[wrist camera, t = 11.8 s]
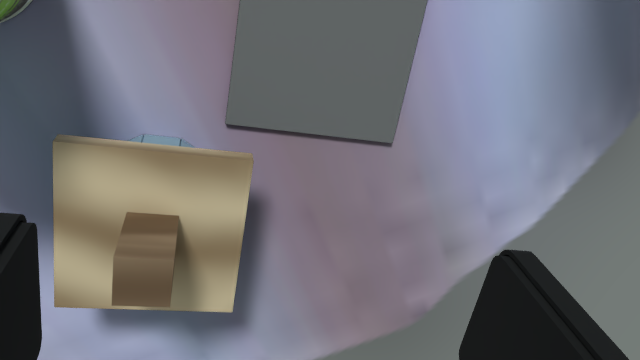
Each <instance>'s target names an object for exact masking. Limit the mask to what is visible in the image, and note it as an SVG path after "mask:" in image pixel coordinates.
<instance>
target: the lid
mask: <svg viewBox="0 0 640 360" xmlns="http://www.w3.org/2000/svg"><path fill="white" fill-rule="evenodd" d="M252 168H253V156H252V154H251V153H241V152H231V151H221V150H211V149H201V148H191V147H181V146H171V145H161V144H151V143H141V142H131V141H121V140H111V139H101V138H91V137H81V136H71V135H61V134H58V135H57V136H56V138H55V139H54V140H53V220H54V307H68V308H102V309H135V310H169V311H202V312H232V311H233V304H234V297H235V290H236V283H237V276H238V268H239V261H240V254H241V247H242V240H243V233H244V226H245V218H246V211H247V204H248V197H249V190H250V183H251V176H252Z"/></svg>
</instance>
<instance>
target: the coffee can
mask: <svg viewBox="0 0 640 360" xmlns="http://www.w3.org/2000/svg"><path fill="white" fill-rule="evenodd" d="M31 2H32V0H0V23H2V22H4V21H6V20H8V19H11V18H13V17H14V16H16V15H18V14H19V13H20V12H21V11H23V10H24V9H25V8H26V7H27V6H28V5H29V4H30V3H31Z"/></svg>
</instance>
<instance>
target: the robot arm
mask: <svg viewBox="0 0 640 360" xmlns="http://www.w3.org/2000/svg"><path fill="white" fill-rule="evenodd" d="M41 340H42V329H41V307H40V284H39V262H38V239H37V227H36V224H35V223H27V221H26V218H25V216H24V215H23V214H9V213H0V360H37V358H38V355H39V352H40V347H41ZM459 360H629V359H628V358H627V357H626V356H625V354H624V353H623V352H622V351H621V350H620V349H619V348H618V347H617V346H616V345H615V343H614V342H613V341H612V340H611V339H610V338H609V337H608V336H607V335H606V333H605V332H604V331H603V330H602V329H601V328H600V327H599V326H598V325H597V323H596V322H595V321H594V320H593V319H592V318H591V317H590V316H589V315H588V314H587V312H586V311H585V310H584V309H583V308H582V307H581V306H580V305H579V304H578V302H577V301H576V300H575V299H574V298H573V297H572V296H571V295H570V294H569V293H568V291H567V290H566V289H565V288H564V287H563V286H562V285H561V284H560V283H559V281H558V280H557V279H556V278H555V277H554V276H553V275H552V274H551V273H550V272H549V271H548V269H547V268H546V267H545V266H544V265H543V264H542V263H541V262H540V260H539V259H538V258H537V257H536V256H535V255H534V254H533V253H532V252H529V251H517V250H504V251H502V252H501V253H500V255H499V256H495V257H494V258H493V260H492V262H491V265H490V267H489V270H488V273H487V276H486V278H485V281H484V284H483V286H482V289H481V292H480V294H479V297H478V300H477V303H476V305H475V308H474V311H473V313H472V316H471V319H470V321H469V324H468V327H467V330H466V332H465V335H464V338H463V341H462V343H461V346H460V349H459Z"/></svg>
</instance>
